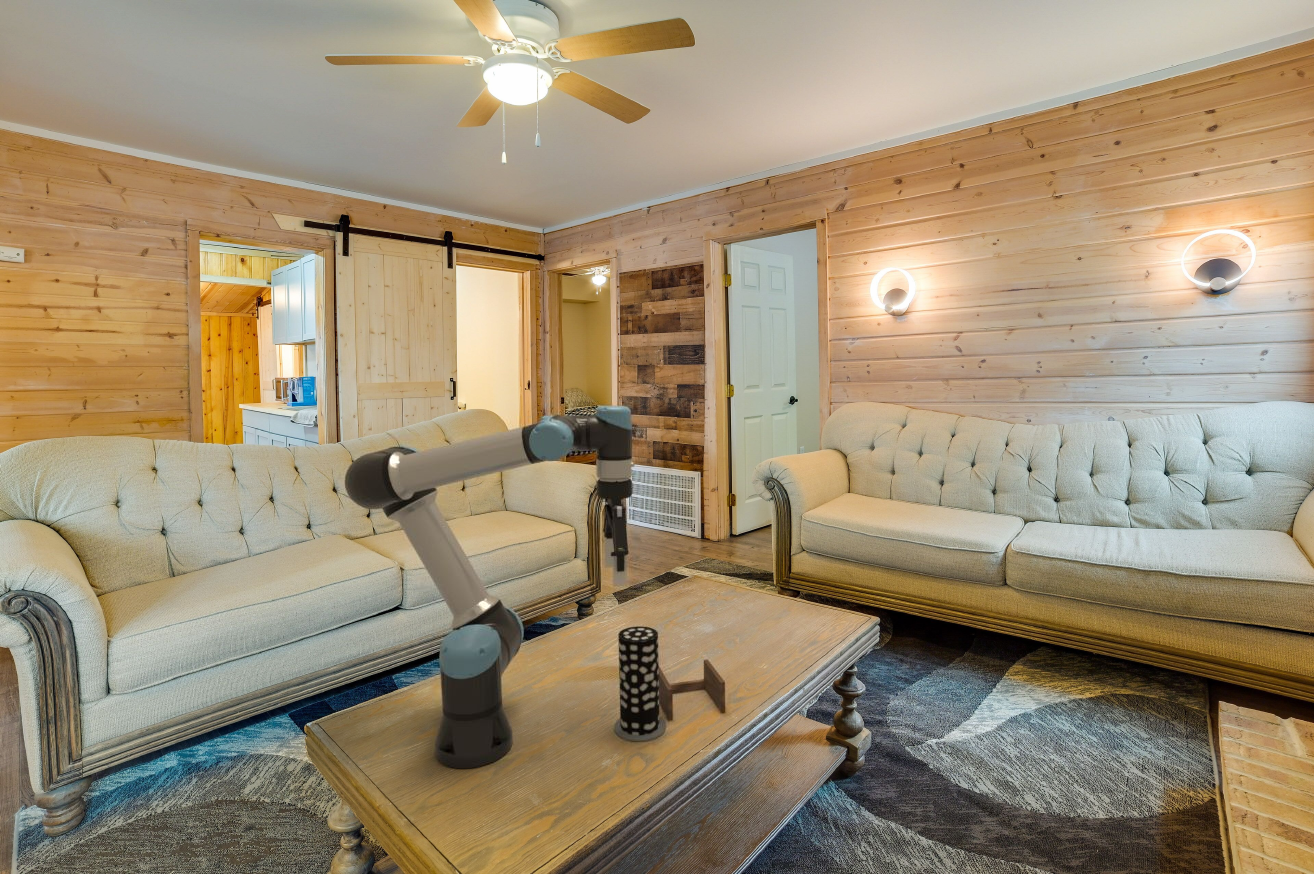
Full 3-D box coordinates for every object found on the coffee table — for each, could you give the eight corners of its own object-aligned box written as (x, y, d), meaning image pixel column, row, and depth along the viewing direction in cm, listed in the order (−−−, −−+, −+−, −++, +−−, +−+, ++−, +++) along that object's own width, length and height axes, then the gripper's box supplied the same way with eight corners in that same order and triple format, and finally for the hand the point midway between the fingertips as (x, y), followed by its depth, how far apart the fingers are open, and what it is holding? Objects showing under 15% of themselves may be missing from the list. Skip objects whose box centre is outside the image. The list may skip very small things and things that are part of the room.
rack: (668, 720, 142) (667, 689, 142) (654, 693, 154) (654, 665, 154) (725, 712, 145) (724, 681, 145) (707, 686, 158) (706, 658, 157)
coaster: (619, 745, 133) (619, 742, 133) (610, 718, 144) (610, 715, 144) (672, 737, 136) (671, 734, 136) (658, 711, 146) (658, 708, 146)
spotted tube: (655, 737, 135) (653, 643, 133) (615, 733, 137) (613, 640, 135) (662, 716, 143) (661, 627, 141) (625, 713, 145) (623, 625, 143)
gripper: (642, 487, 129) (642, 593, 131) (622, 469, 153) (623, 558, 155) (604, 489, 127) (605, 595, 129) (590, 470, 151) (591, 560, 153)
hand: (615, 575), depth 142 cm, fingers open, 13 cm apart
